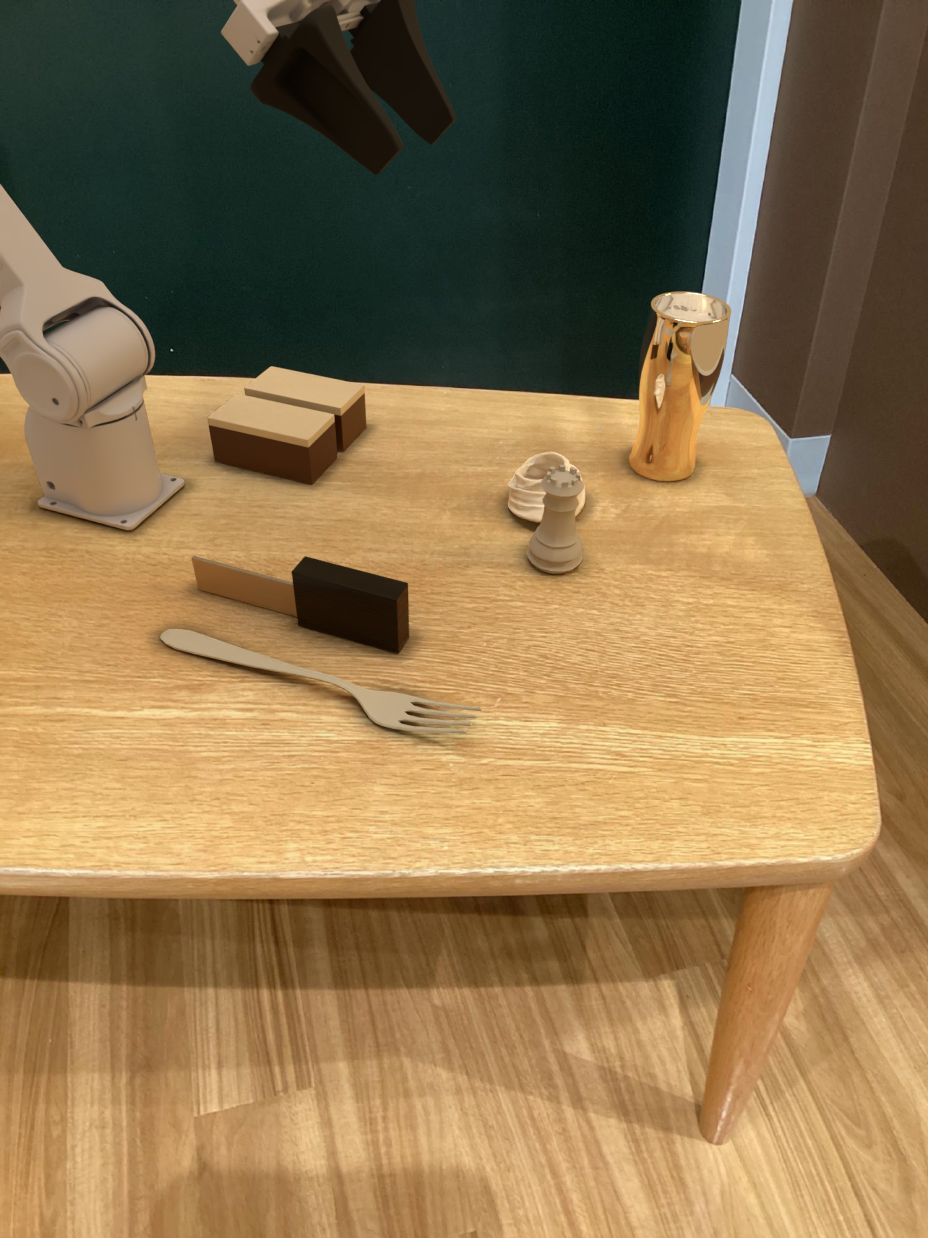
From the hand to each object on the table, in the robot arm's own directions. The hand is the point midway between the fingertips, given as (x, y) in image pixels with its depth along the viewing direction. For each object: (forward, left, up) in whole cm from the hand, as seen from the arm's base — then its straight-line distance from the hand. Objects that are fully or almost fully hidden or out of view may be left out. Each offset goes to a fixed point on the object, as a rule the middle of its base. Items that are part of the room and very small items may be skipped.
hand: (418, 145), depth 52 cm
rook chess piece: (+9, +7, -31) cm, 33 cm away
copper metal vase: (+14, +25, -31) cm, 42 cm away
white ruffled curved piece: (+6, +14, -31) cm, 34 cm away
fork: (-3, -13, -31) cm, 34 cm away
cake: (-19, +11, -31) cm, 38 cm away
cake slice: (-19, +18, -31) cm, 40 cm away
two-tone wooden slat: (-7, -7, -31) cm, 32 cm away
